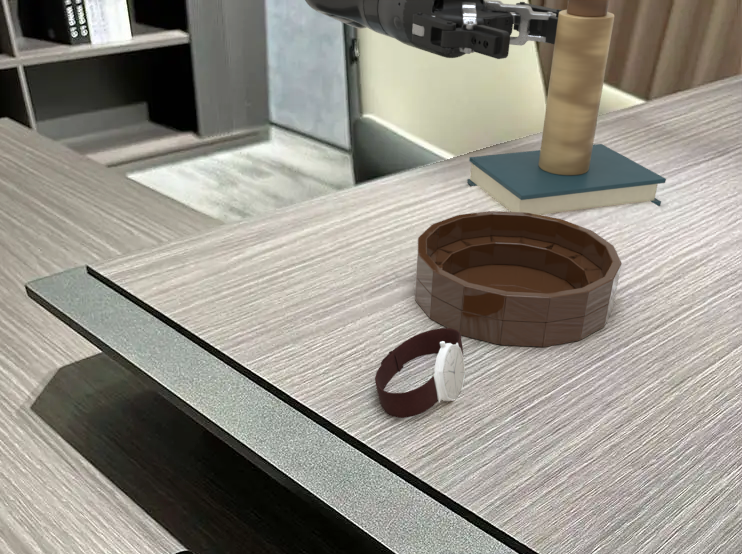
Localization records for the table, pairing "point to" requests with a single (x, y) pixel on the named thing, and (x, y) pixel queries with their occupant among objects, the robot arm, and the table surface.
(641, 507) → the table surface
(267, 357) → the table surface
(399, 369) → the watch
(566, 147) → the pepper mill
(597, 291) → the bowl
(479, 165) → the book
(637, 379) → the table surface
